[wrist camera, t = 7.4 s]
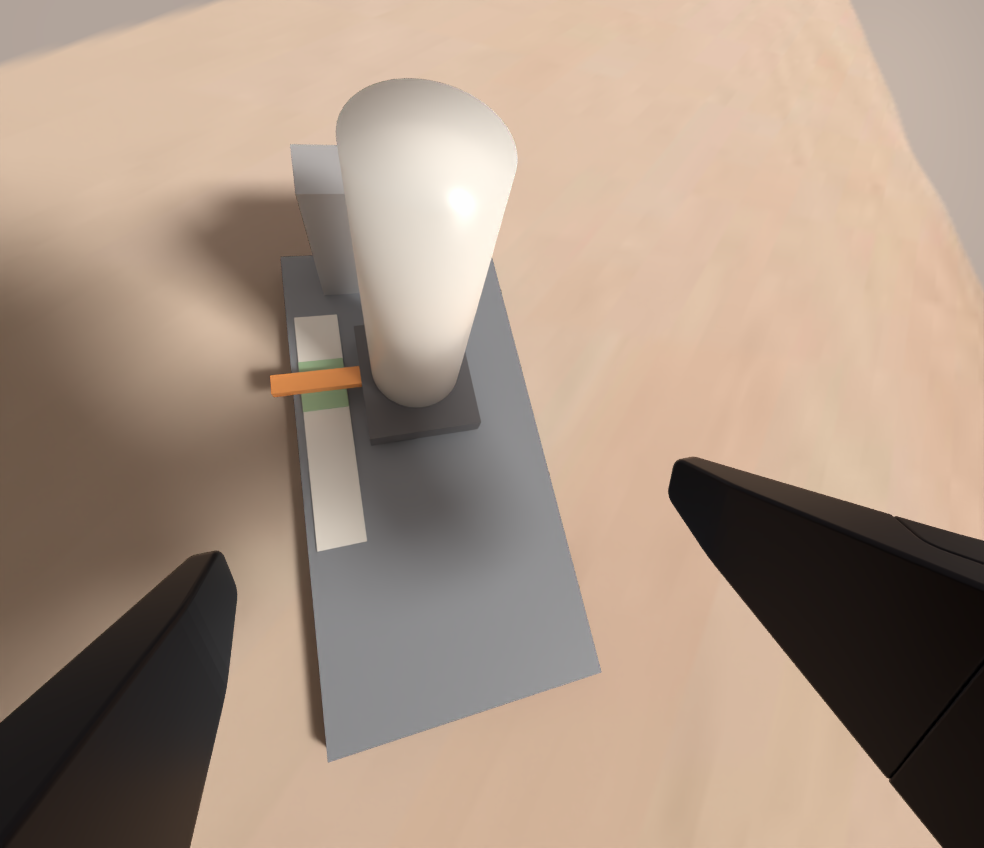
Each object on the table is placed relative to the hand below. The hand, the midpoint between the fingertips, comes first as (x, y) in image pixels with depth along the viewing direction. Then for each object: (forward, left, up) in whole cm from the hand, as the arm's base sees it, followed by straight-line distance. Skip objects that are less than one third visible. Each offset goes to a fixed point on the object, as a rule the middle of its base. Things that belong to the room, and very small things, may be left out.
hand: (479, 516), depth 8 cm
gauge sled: (+5, -3, -7) cm, 9 cm away
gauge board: (+2, -2, -8) cm, 9 cm away
